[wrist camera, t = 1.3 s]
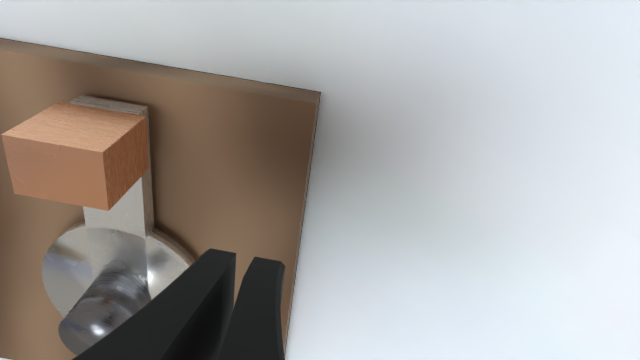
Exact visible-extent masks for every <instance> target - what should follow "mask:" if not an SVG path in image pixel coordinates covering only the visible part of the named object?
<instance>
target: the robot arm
mask: <svg viewBox="0 0 640 360" xmlns="http://www.w3.org/2000/svg"><path fill="white" fill-rule="evenodd" d="M235 271H236V253H233V252H228V251H222V250H217V249H212V248H210V249H208V250H207V251H205V252H204V253H203V254H202V255H201V256H200V257H199V258H198V259H197V260H196V261H195V262H194V263H193V264H192V265H190V266H189V267H188V268H187V269H186V270H185V271H184V272H183V273H182V274H181V275H180V276H179V277H177V278H176V279H175V280H174V281H173V282H172V283H171V284H170V285H168V286H167V287H166V288H165V289H164V290H163V291H161V292H160V293H159V294H158V295H157V296H156V297H154V298H153V299H152V300H151V301H150V302H148V303H147V304H146V305H145V306H144V307H142V308H141V309H140V310H139V311H138V312H136V313H135V314H134V315H132V316H131V317H130V318H128V319H127V320H126V321H125V322H123V323H122V324H121V325H119V326H118V327H117V328H115V329H114V330H113V331H111V332H110V333H109V334H108V335H106V336H105V337H103V338H102V339H101V340H99V341H98V342H96V343H95V344H94V345H92V346H91V347H89V348H88V349H86V350H85V351H84V352H82V353H81V354H79V355H78V356H76V357H75V358H73V359H72V360H285V357H284V349H283V340H282V327H281V309H280V307H281V299H282V291H283V283H284V274H285V265H284V264H283V263H282V262H281V261H277V260H271V259H266V258H260V257H254V258H253V260H252V262H251V264H250V265H249V267H248V269H247V271H246V273H245V275H244V277H243V279H242V283H241V286H240V289H239V292H238V296H237V299H236V302H235V306H234V289H235ZM233 307H234V309H233Z"/></svg>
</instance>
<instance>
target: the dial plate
mask: <svg viewBox="0 0 640 360" xmlns="http://www.w3.org/2000/svg"><path fill="white" fill-rule="evenodd" d="M1 136H2V141H3V145H4V150H5V154H6V159H7V163H8V168H9V172H10V176H11V181H12V185H13V190H14V194H19V195H24V196H29V197H35V198H40V199H46V200H51V201H57V202H62V203H68V204H73V205H79V206H83V210H84V217H85V220H83V221H81V222H78V223H76V224H74V225H73V226H71V227H70V228H68V229H67V230H66V231H65V232H64V233H63V234H62V235H61V236H60V237H59V238H58V239H57V240H56V241H55V242H54V243H53V244H52V245H51V246H50V248H49V249H48V250H47V252H46V254H45V257H44V260H43V264H42V277H43V283H44V286H45V289H46V292H47V294H48V296H49V298H50V300H51V301H52V303H53V305H54V306H55V308H56V309H57V310H58V311H59V313H60V314H61V315H62V316H63V317H64V319H63V320H62V321H61V322H60V324H59V328H58V332H59V336H60V339H61V341H62V342H63V344H64V345H65V346H66V347H67V348H68V349H69V350H70V351H71V352H72V353H74V354H75V355H77V356H78V355H79V354H81V353H82V352H84V351H85V350H86V349H88V348H89V347H91V346H92V345H94V344H95V343H96V342H98V341H99V340H101V339H102V338H103V337H105V336H106V335H108V334H109V333H110V332H111V331H113V330H114V329H115V328H117V327H118V326H119V325H121V324H122V323H123V322H125V321H126V320H127V319H128V318H130V317H131V316H132V315H134V314H135V313H136V312H138V311H139V310H140V309H141V308H142V307H144V306H145V305H146V304H147V303H148V302H150V301H151V300H152V299H153V298H154V297H156V296H157V295H158V294H159V293H160V292H161V291H163V290H164V289H165V288H166V287H167V286H168V285H170V284H171V283H172V282H173V281H174V280H175V279H176V278H177V277H179V276H180V275H181V274H182V273H183V272H184V271H185V270H186V269H187V268H188V267H189V266H190V265H192V264H193V263H194V262H195V260H194V259H193V257H192V256H191V255H190V254H189V253H188V252H187V251H186V249H184V248H183V247H182V246H181V245H180V244H179V243H178V242H176V241H175V240H174V239H172V238H171V237H170V236H168V235H167V234H165V233H163V232H161V231H160V230H158V229H156V228H154V213H153V194H152V175H151V156H150V137H149V118H148V107H147V106H142V105H136V104H130V103H124V102H118V101H113V100H107V99H101V98H95V97H89V96H84V95H81V96H79V97H78V98H76V99H74V100H73V101H71V102H69V103H66V102H58V103H56V104H54V105H53V106H51V107H49V108H47V109H46V110H44V111H42V112H40V113H38V114H37V115H35V116H33V117H31V118H30V119H28V120H26V121H24V122H23V123H21V124H19V125H17V126H15V127H14V128H12V129H10V130H8V131H7V132H5V133H3V134H1Z"/></svg>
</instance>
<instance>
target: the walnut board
mask: <svg viewBox="0 0 640 360" xmlns="http://www.w3.org/2000/svg"><path fill="white" fill-rule="evenodd" d="M320 94H321V92H317V91H311V90H305V89H299V88H293V87H287V86H281V85H275V84H269V83H263V82H257V81H252V80H246V79H240V78H234V77H228V76H222V75H216V74H210V73H204V72H198V71H192V70H186V69H180V68H174V67H168V66H162V65H156V64H150V63H145V62H139V61H133V60H127V59H121V58H115V57H109V56H103V55H97V54H91V53H85V52H79V51H73V50H67V49H61V48H55V47H49V46H44V45H38V44H32V43H26V42H20V41H14V40H8V39H2V38H0V357H1V358H6V359H11V360H72V359H73V358H75V357H76V356H77V355H75V354H74V353H72V352H71V351H70V350H69V349H68V348H67V347H66V346H65V345H64V344H63V342H62V341H61V339H60V336H59V332H58V328H59V324H60V322H61V321H62V320H63V319H64V317H63V316H62V315H61V314H60V313H59V311H58V310H57V309H56V308H55V306H54V305H53V303H52V301H51V300H50V298H49V296H48V294H47V292H46V289H45V286H44V283H43V277H42V264H43V260H44V257H45V254H46V252H47V250H48V249H49V248H50V246H51V245H52V244H53V243H54V242H55V241H56V240H57V239H58V238H59V237H60V236H61V235H62V234H63V233H64V232H65V231H66V230H67V229H68V228H70V227H71V226H73V225H74V224H76V223H78V222H81V221H83V220H85V217H84V210H83V206H79V205H73V204H68V203H62V202H57V201H51V200H46V199H40V198H35V197H29V196H24V195H19V194H14V190H13V185H12V181H11V176H10V172H9V168H8V163H7V159H6V154H5V150H4V145H3V141H2V136H1V134H3V133H5V132H7V131H8V130H10V129H12V128H14V127H15V126H17V125H19V124H21V123H23V122H24V121H26V120H28V119H30V118H31V117H33V116H35V115H37V114H38V113H40V112H42V111H44V110H46V109H47V108H49V107H51V106H53V105H54V104H56V103H58V102H66V103H69V102H71V101H73V100H74V99H76V98H78V97H79V96H81V95H84V96H89V97H95V98H101V99H107V100H113V101H118V102H124V103H130V104H136V105H142V106H147V107H148V118H149V137H150V156H151V175H152V194H153V213H154V228H156V229H158V230H160V231H161V232H163V233H165V234H167V235H168V236H170V237H171V238H172V239H174V240H175V241H176V242H178V243H179V244H180V245H181V246H182V247H183V248H184V249H186V251H187V252H188V253H189V254H190V255H191V256H192V257H193V259H194V260H195V261H196V260H197V259H198V258H199V257H200V256H201V255H202V254H203V253H204V252H205V251H207V250H208V249H210V248H212V249H217V250H222V251H228V252H233V253H236V271H235V289H234V306H235V302H236V299H237V296H238V292H239V289H240V286H241V283H242V279H243V277H244V275H245V273H246V271H247V269H248V267H249V265H250V264H251V262H252V260H253V258H254V257H260V258H266V259H271V260H277V261H281V262H282V263H283V264H284V265H285V274H284V283H283V291H282V299H281V307H280V309H281V327H282V340H283V349H284V357H285V349H286V342H287V335H288V328H289V320H290V313H291V306H292V298H293V291H294V284H295V277H296V269H297V262H298V255H299V247H300V240H301V233H302V226H303V218H304V211H305V204H306V196H307V189H308V182H309V175H310V167H311V160H312V153H313V145H314V138H315V131H316V124H317V116H318V109H319V102H320ZM233 309H234V307H233Z"/></svg>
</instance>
